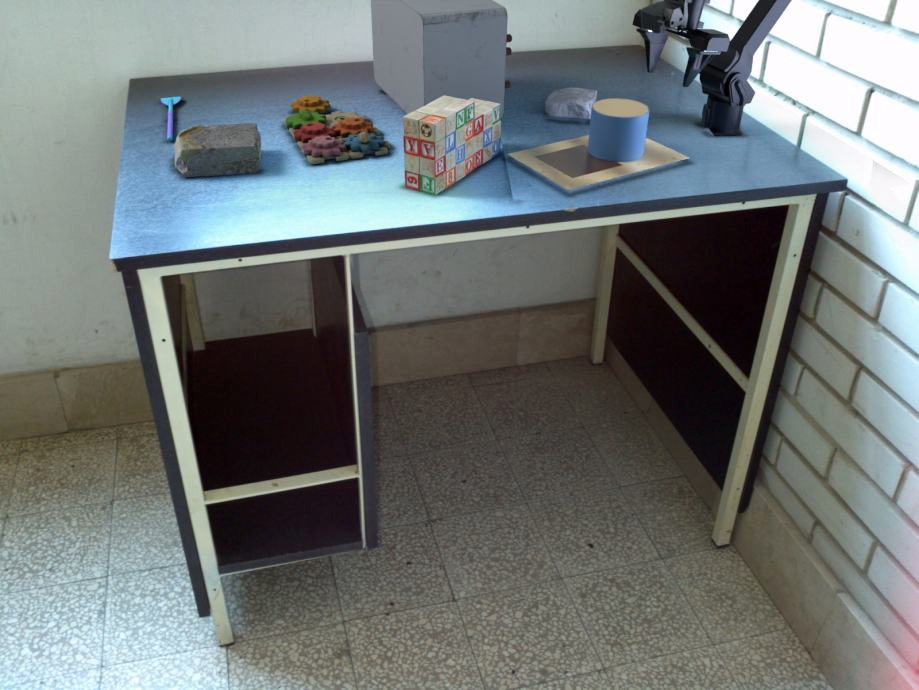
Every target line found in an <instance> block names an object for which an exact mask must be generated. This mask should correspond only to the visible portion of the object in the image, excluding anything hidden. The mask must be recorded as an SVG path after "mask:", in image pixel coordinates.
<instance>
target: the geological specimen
mask: <svg viewBox="0 0 919 690" xmlns="http://www.w3.org/2000/svg"><path fill="white" fill-rule="evenodd" d="M261 137H262V136H261V133H260V131H259V129H258V124H257V122H242V123H228V124H226V123H225V124H217V125H213V124H209V125H208V126H204V125H203V124H197V125H193V126H188V127H187V128H186V129H183V130H181V131H180V132H179V133H178V135H177V136H176V139H175V142H174V144H173V149H174V163H173V164H174V167H175V169H176V170H177V171H179V173H181V175H182V176H183V178H193V177H211V176H212V177H213V176H214V177H215V176H228V175H242V174H243V175H245V174H257V173H259V172H260V168H261V160H262V138H261Z"/></svg>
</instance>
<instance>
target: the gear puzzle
mask: <svg viewBox="0 0 919 690" xmlns="http://www.w3.org/2000/svg"><path fill="white" fill-rule="evenodd" d="M331 108H332V105H331V104H330V101H329V100H328V99H324V98H323V99H322V98H321V96H318V95H316V94H313V95H312V94H311V95H310V94H307V95H302V96H301V97H299V98H296V100H295V101H294V102H291V103H290V109H291V112H292V113H293V114H292V115H289V116H288V117H285V119H284V121H283V122H284V126H285V127H286V128H287V129H288V128H289V130H288V131H289V133H290V135H291V136H292V139H293V140H294V141H295V142H297V147H299V149H301V153H302V154H303V155H304V156H306V160H307V162H308V163H309V164H311V165H316V164H324V163H325V160H335V161H336V162H340V161H346V160H349V159H353V160H354V159H355V160H356V159H360V158H361V159H362V158H364V155H371V154H374V155H375V156H382V155H387V154H388V153H389V149H391V148H392V147H391V145H392V144H391V143H390V142H389V141H388V140H385V137H384V136H383V135H380V130H379V129H378V128H377V127H376V126H374V123H373V122H369V120H368V119H369V118H368V117H367V115H365V114H363V115H359V114H358V113H357V112H356V111H348V112H343V111H342V110H339V111H338V110H337V111H331V113H330V114H324V113H326V111H327V110H330V109H331Z"/></svg>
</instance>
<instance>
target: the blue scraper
mask: <svg viewBox="0 0 919 690" xmlns="http://www.w3.org/2000/svg"><path fill="white" fill-rule="evenodd" d="M181 99H182V96H173V97H172V96H170V97H162V98H160V102H161V104H163V105H165V106H167V107H168V110H167V131H166V132H167V133H166V139H167V141H168V142H172V141H173V136H174V134H173V133H174V131H173V129H174V106H175V105H177V104H178V103H179V102H180V101H181Z"/></svg>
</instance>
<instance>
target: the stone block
mask: <svg viewBox="0 0 919 690" xmlns="http://www.w3.org/2000/svg"><path fill="white" fill-rule="evenodd" d="M597 97H598V90H596V89H595V90H591V89H586V88H582V87H565V88H559V89H554V90H552V91H551V93H550V94H549V95H548V97H547V98H546V100H545V102H544V111H545V114H546V115H547V116H550V117H556V118H570V119H571V118H573V119H581V120H590V118H591V107H592V104H593V103H595V102H597V101H598V100H597Z"/></svg>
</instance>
